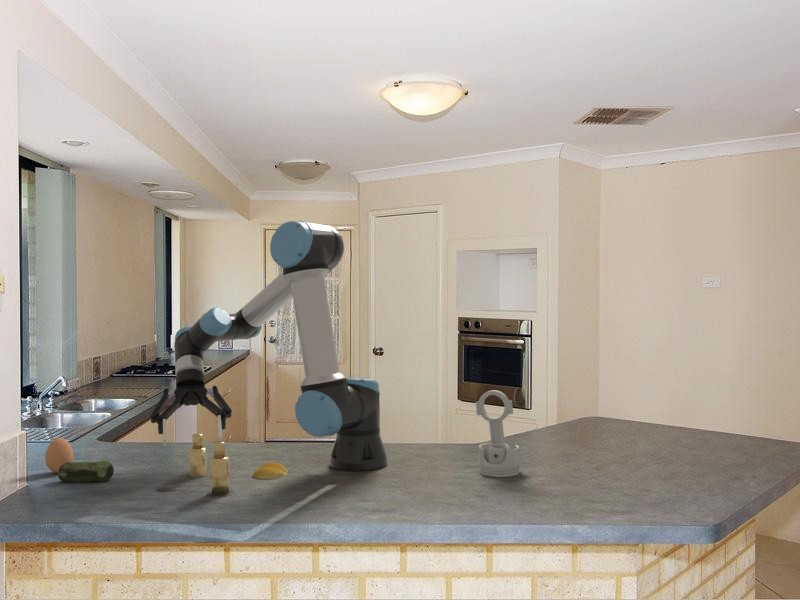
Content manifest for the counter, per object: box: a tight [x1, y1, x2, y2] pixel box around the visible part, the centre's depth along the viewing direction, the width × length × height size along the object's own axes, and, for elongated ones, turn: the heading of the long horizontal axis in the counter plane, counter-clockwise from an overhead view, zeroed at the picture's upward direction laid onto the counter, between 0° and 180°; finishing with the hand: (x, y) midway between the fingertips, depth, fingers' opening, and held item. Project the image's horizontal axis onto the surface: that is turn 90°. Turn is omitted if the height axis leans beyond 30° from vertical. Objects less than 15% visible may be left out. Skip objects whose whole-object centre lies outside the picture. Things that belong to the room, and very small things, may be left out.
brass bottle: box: [188, 432, 208, 478], centre depth 170 cm, size 4×4×12 cm
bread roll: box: [252, 462, 289, 480], centre depth 170 cm, size 8×9×4 cm
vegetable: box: [57, 460, 115, 483], centre depth 172 cm, size 14×5×5 cm, turn 91°
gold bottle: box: [209, 440, 231, 496], centre depth 154 cm, size 4×4×12 cm
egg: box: [44, 437, 74, 474], centre depth 181 cm, size 7×7×9 cm
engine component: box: [475, 389, 520, 478], centre depth 173 cm, size 11×20×10 cm
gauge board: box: [155, 482, 235, 498], centre depth 156 cm, size 24×12×1 cm, turn 69°
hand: (193, 441), depth 174 cm, fingers open, 13 cm apart
